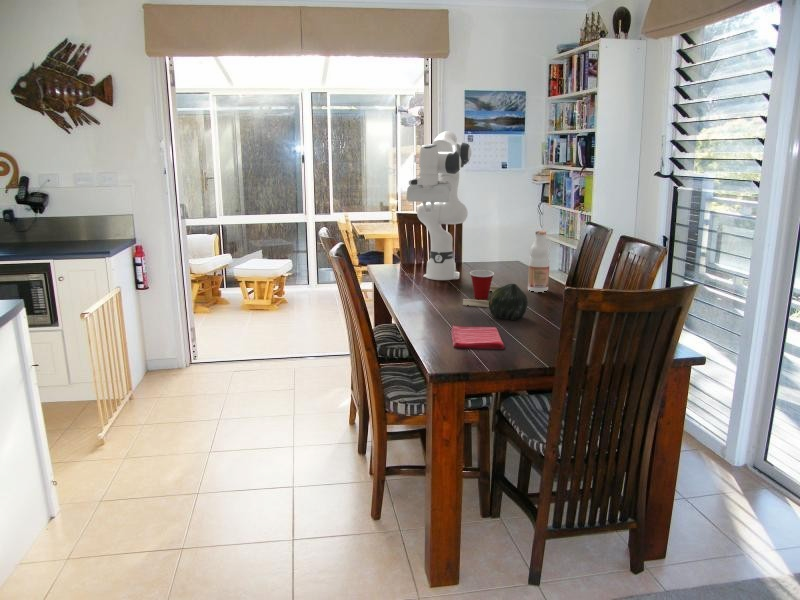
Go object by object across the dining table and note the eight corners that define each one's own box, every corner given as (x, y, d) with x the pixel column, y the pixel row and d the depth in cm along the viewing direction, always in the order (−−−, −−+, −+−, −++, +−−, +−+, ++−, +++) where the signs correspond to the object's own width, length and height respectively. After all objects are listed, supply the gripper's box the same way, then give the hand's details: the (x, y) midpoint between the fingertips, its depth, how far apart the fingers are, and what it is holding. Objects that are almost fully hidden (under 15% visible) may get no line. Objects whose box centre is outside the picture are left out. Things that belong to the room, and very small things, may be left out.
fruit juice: (523, 290, 304) (526, 231, 297) (537, 287, 309) (540, 229, 302) (537, 293, 296) (541, 233, 290) (552, 291, 301) (555, 231, 295)
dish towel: (453, 350, 214) (453, 342, 213) (450, 331, 237) (450, 324, 236) (505, 351, 213) (505, 343, 213) (496, 331, 236) (497, 324, 236)
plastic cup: (469, 301, 281) (470, 274, 278) (468, 295, 292) (469, 269, 289) (494, 301, 281) (495, 274, 278) (492, 296, 291) (493, 270, 288)
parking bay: (476, 290, 303) (476, 285, 302) (516, 293, 297) (516, 287, 297) (462, 305, 274) (462, 299, 273) (506, 308, 268) (506, 302, 268)
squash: (486, 298, 262) (491, 276, 249) (523, 300, 261) (530, 278, 249) (487, 327, 253) (492, 306, 241) (525, 329, 253) (532, 308, 241)
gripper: (452, 181, 288) (452, 212, 292) (409, 180, 294) (409, 210, 298) (449, 181, 283) (449, 213, 286) (405, 181, 289) (405, 211, 292)
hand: (428, 212), depth 292 cm, fingers closed
